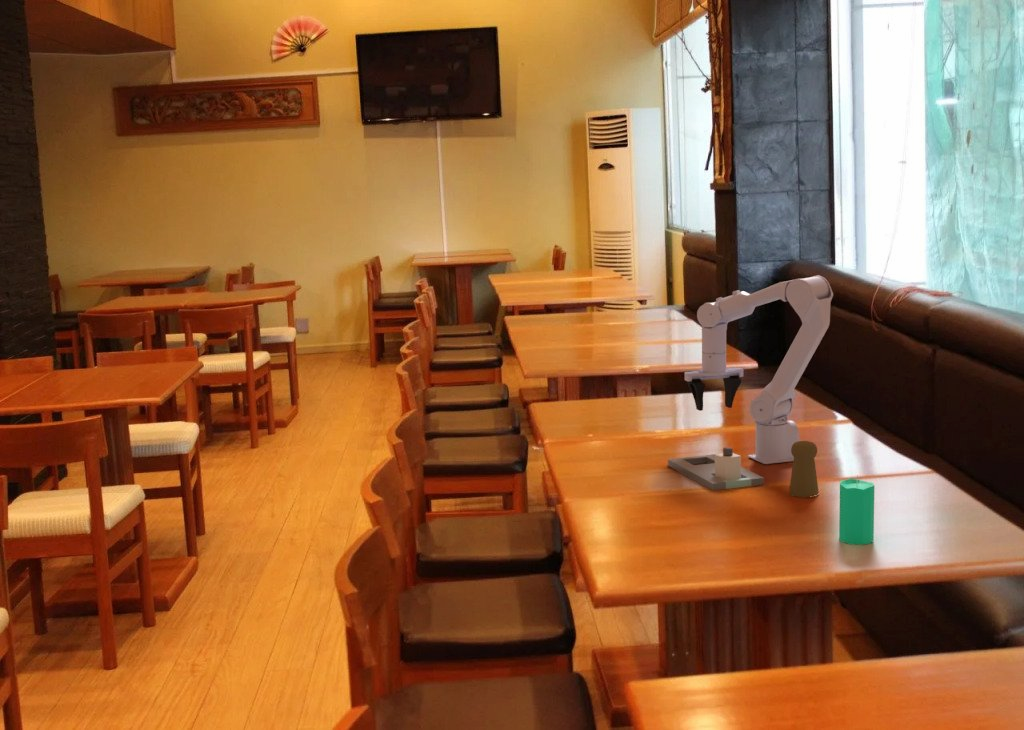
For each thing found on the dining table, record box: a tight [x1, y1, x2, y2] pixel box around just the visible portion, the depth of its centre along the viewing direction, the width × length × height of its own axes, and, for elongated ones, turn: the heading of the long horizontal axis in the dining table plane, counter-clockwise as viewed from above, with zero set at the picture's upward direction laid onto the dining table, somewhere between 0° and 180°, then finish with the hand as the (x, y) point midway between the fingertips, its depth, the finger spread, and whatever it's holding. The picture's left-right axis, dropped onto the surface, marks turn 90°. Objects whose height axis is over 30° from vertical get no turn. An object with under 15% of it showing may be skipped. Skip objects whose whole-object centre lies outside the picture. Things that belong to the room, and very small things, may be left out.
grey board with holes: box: [667, 453, 765, 491], centre depth 255 cm, size 12×23×2 cm, turn 16°
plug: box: [714, 446, 742, 480], centre depth 248 cm, size 4×4×8 cm
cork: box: [788, 440, 820, 498], centre depth 237 cm, size 6×6×11 cm
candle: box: [838, 474, 875, 546], centre depth 207 cm, size 6×6×12 cm
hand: (714, 408), depth 275 cm, fingers open, 7 cm apart
